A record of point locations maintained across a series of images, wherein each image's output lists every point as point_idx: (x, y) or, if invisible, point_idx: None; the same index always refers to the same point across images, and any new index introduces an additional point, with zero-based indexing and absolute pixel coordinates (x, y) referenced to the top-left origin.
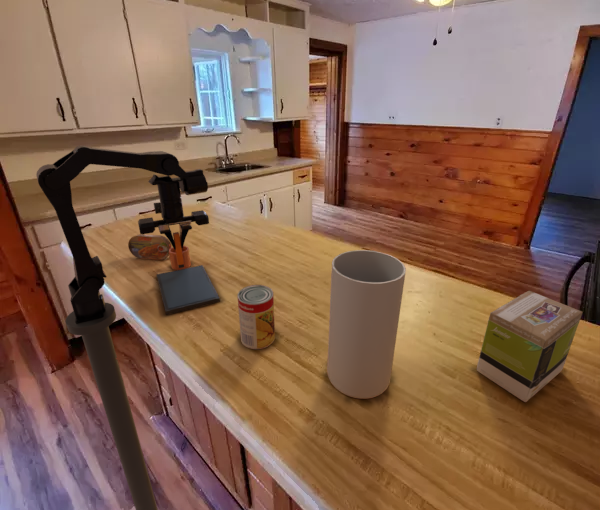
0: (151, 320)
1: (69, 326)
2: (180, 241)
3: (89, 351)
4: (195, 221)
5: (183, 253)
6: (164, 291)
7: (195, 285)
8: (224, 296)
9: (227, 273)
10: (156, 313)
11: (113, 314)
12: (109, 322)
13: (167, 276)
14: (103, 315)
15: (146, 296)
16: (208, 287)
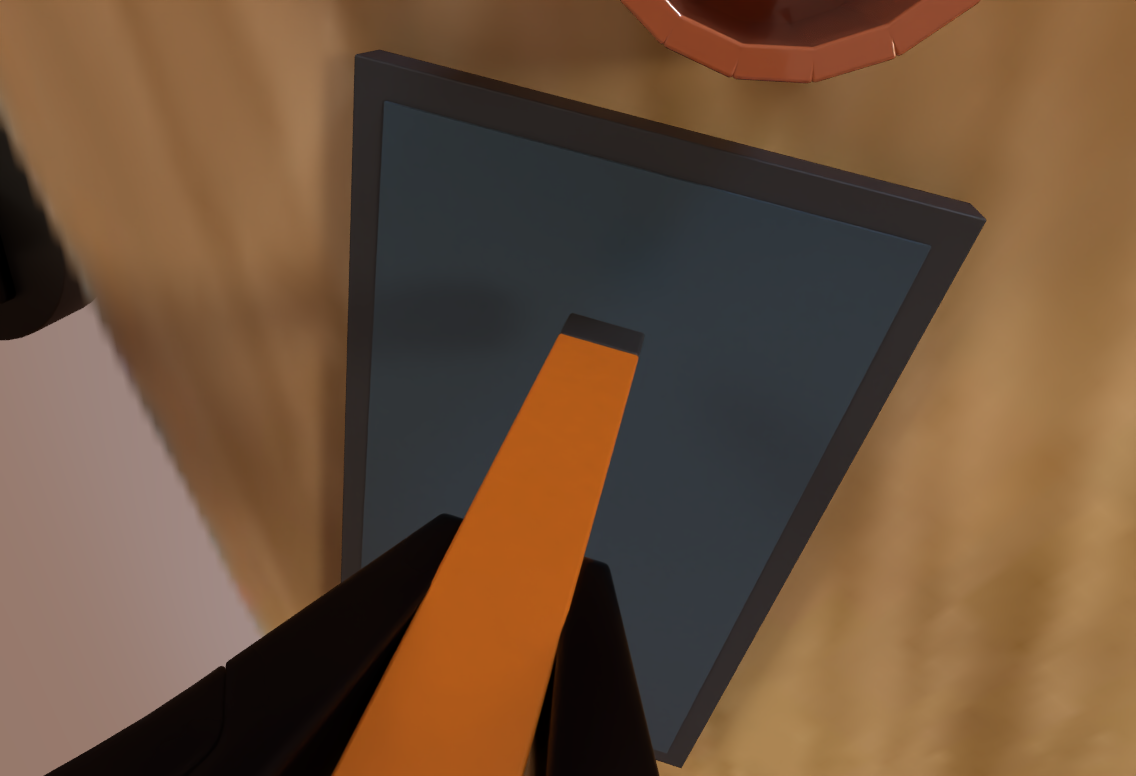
0: (273, 612)
1: None
2: (532, 753)
3: None
4: None
5: (802, 76)
6: (370, 472)
7: (625, 564)
8: (746, 724)
9: (1068, 515)
10: (304, 581)
11: (77, 280)
12: (80, 304)
13: (457, 222)
14: (6, 298)
15: (252, 359)
16: (696, 651)
